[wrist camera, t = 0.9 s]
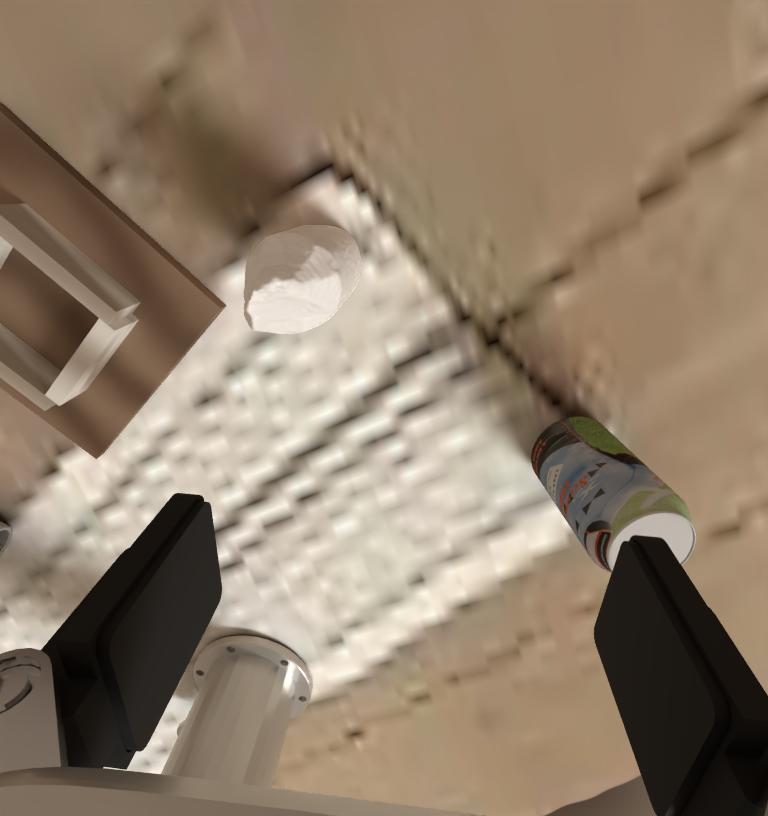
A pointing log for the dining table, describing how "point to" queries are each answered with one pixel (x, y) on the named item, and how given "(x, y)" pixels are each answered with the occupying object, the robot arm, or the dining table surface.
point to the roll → (300, 278)
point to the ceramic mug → (4, 535)
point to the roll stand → (84, 297)
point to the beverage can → (608, 491)
